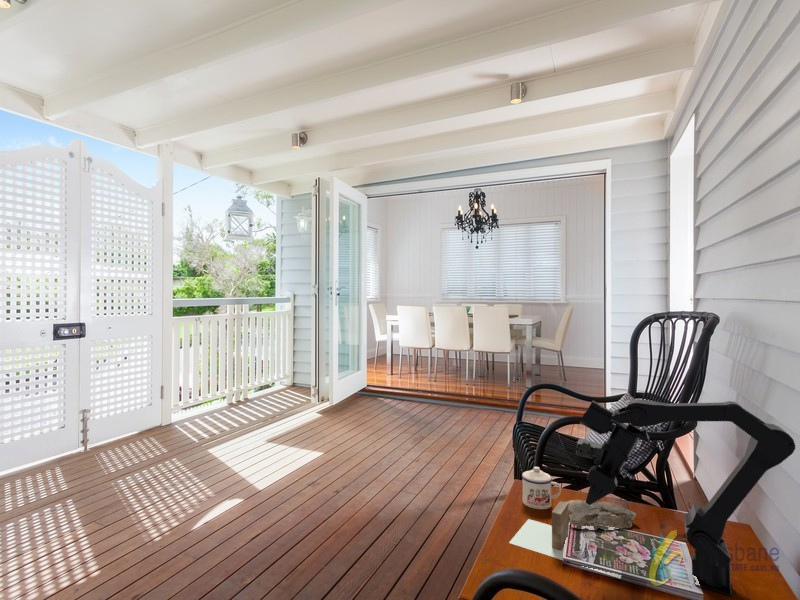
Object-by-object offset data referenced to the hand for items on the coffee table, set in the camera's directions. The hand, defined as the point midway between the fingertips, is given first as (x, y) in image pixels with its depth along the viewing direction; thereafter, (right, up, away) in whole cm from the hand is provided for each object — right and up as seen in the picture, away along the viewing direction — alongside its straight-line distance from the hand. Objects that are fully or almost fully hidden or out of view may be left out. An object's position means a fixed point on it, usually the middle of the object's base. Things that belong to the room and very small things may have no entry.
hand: (590, 497), depth 108 cm
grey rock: (+10, -15, +15) cm, 23 cm away
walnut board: (-7, -13, +2) cm, 15 cm away
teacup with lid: (-4, -15, +26) cm, 30 cm away
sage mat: (-5, -13, +1) cm, 14 cm away
